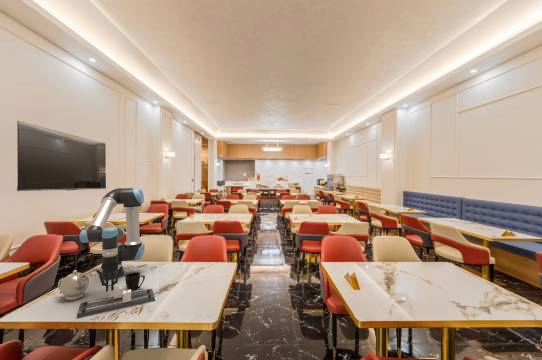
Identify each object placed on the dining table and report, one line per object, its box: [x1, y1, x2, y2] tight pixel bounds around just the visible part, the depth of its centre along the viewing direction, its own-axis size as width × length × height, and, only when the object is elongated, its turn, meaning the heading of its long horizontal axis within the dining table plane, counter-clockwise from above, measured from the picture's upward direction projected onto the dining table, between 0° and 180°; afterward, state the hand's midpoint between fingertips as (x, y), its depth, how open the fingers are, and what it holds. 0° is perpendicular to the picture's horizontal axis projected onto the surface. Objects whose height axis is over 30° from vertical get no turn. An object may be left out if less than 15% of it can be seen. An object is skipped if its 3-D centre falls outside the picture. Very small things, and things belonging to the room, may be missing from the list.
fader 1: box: [113, 285, 123, 299], centre depth 145 cm, size 4×4×5 cm
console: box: [76, 288, 156, 319], centre depth 142 cm, size 14×36×3 cm, turn 121°
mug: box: [124, 271, 146, 292], centre depth 161 cm, size 8×12×10 cm
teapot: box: [57, 269, 90, 301], centre depth 150 cm, size 18×14×16 cm
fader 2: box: [122, 289, 132, 303], centre depth 140 cm, size 4×4×5 cm
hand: (109, 296), depth 143 cm, fingers closed
